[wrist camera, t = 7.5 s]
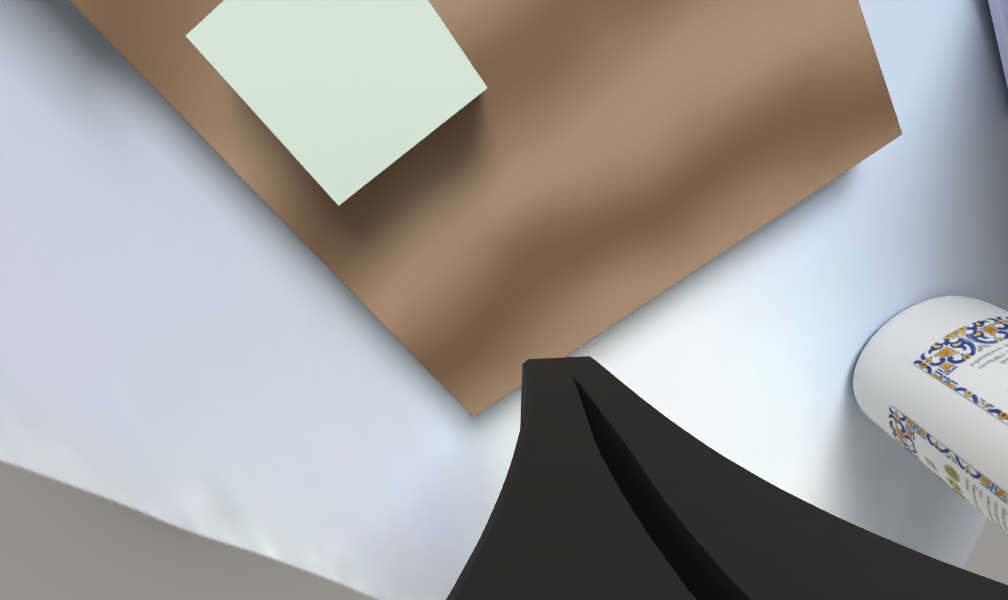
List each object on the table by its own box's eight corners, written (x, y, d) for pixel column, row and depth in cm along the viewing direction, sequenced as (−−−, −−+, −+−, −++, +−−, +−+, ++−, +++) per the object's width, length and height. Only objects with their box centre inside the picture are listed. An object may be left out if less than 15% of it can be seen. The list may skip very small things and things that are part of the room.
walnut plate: (858, 127, 19) (902, 134, 17) (471, 388, 22) (473, 417, 20) (619, -527, 12) (649, -633, 10) (96, -11, 15) (49, -21, 13)
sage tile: (481, 84, 15) (487, 87, 13) (353, 185, 16) (338, 205, 14) (365, -86, 13) (349, -117, 11) (227, 40, 14) (185, 36, 12)
